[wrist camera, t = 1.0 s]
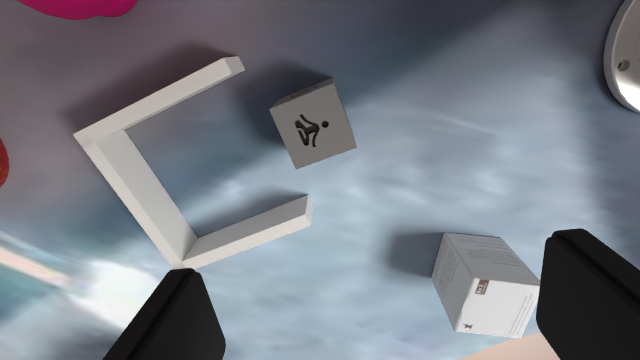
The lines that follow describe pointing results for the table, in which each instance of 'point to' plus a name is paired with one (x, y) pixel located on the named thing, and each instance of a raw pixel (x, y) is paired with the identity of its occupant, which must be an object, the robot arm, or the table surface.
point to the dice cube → (313, 124)
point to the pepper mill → (81, 8)
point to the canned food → (3, 163)
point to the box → (151, 198)
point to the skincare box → (484, 285)
